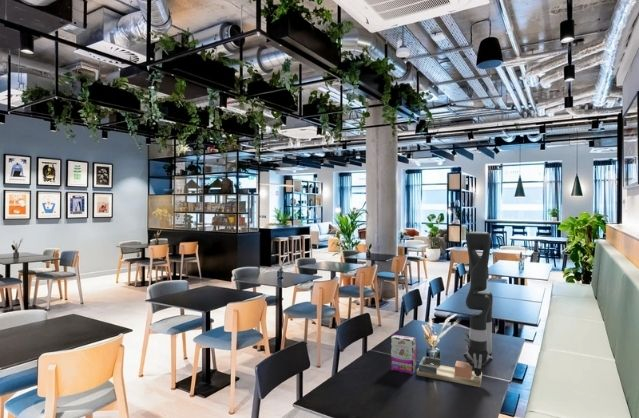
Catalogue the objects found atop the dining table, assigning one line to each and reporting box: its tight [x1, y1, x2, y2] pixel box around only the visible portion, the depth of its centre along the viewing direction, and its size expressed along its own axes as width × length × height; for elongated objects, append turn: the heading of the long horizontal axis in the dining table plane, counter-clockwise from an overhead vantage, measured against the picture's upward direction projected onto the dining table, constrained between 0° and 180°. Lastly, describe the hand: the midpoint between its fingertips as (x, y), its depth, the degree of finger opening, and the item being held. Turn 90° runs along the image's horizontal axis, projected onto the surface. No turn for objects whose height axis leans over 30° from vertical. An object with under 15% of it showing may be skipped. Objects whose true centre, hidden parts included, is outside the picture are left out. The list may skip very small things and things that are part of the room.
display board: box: [416, 356, 483, 388], centre depth 187 cm, size 12×28×5 cm, turn 64°
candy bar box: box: [390, 334, 417, 375], centre depth 192 cm, size 11×5×16 cm, turn 62°
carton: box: [454, 360, 473, 379], centre depth 184 cm, size 7×7×4 cm
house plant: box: [462, 328, 488, 362], centre depth 205 cm, size 14×14×16 cm
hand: (477, 375), depth 181 cm, fingers closed
